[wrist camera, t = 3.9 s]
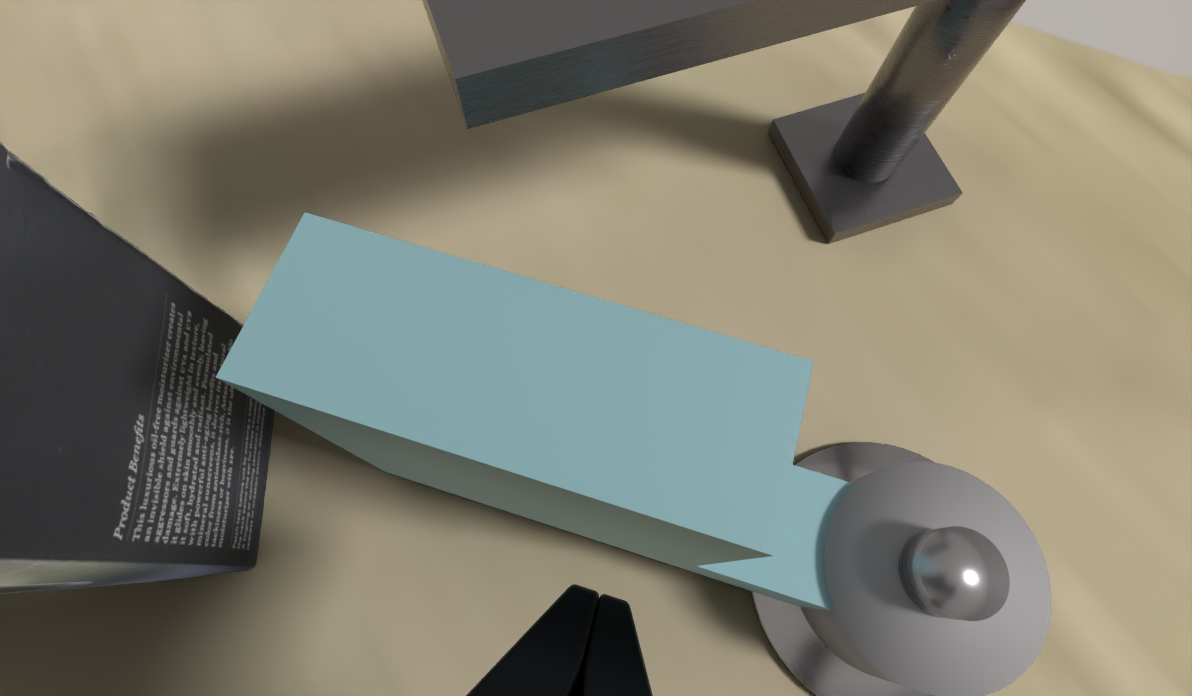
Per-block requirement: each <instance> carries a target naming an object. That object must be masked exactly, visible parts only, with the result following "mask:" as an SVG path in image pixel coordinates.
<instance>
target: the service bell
mask: <svg viewBox="0 0 1192 696" xmlns="http://www.w3.org/2000/svg"><path fill="white" fill-rule="evenodd" d="M907 462H930V463H935V462H933V461H931V460H929V459H927V458H925V457H923V456H922V455H920V454H917V453H914V452H912V451H909V450H906V449H904V448H900V447H896V446H892V445H888V444H880V443H872V442H861V443H848V444H841V445H837V446H833V447H830V448H826V449H823V450H821V451H819V452H817V453H814V454H812V455H810V456H808V457H806V458H805V459H803V460H802V461H800V462H798V463H797V464H795V466H798V467H802V468H805V469H808V470H811V471H815V472H818V473H821V474H824V475H828V476H831V477H834V478H837V479H841V480H844V481H847V482H848V481H851V480H854V479H856V478H859V477H862V476H865V475H867V474H870V473H873V472H875V471H878V470H881V469H883V468H886V467H889V466H893V465H896V464H901V463H907ZM899 574H900V579H901V582H902V585H903V587H904V589H905V591H906V593H907V594H908V596H909V597H910V599H911V600H912V601H913V602H914V603H915V604H916V605H917V606H918V607H919V608H921V609H922V610H923V611H925V612H927V613H928V614H930V615H933V616H935V617H939V618H945V619H955V620H965V621H980V620H985V619H988V618H990V617H992V616H993V615H995V614H996V613H997V612H998V611H999V610H1000V609H1001V608H1002V607H1003V605H1004V604H1005V602H1006V600H1007V597H1008V594H1009V588H1010V578H1009V572H1008V568H1007V565H1006V562H1005V560H1004V558H1003V556H1002V554H1001V553H1000V551H999V550H998V549H997V547H996V546H995V545H994V544H993V543H992V542H991V541H990V540H989V539H988V538H987V537H985V536H984V535H982V534H981V533H979V532H977V531H975V530H972V529H970V528H966V527H960V526H952V527H945V528H938V529H931V530H925V531H922V532H919V533H917V534H915V535H914V536H912V537H911V538H910V539H909V540H908V541H907V542H906V544H905V545H904V547H903V549H902V551H901V554H900V558H899ZM751 594H752V598H753V603H754V606H755V609H756V612H757V615H758V618H759V621H760V624H761V626H762V628H763V630H764V632H765V634H766V636H767V638H768V640H769V642H770V644H771V645H772V647H773V648H774V650H775V652H776V653H777V655H778V656H779V658H780V659H781V660H782V662H783V663H784V664H785V665H786V667H787V668H788V669H789V670H790V672H791V673H792V674H793V675H794V676H795V677H796V678H797V679H798V680H799V681H800V682H801V683H802V684H803V685H804V686H805V687H806V688H808V689H809V690H810V691H812V692H813V693H814V694H815V695H817V696H935V695H931V694H927V693H923V692H920V691H917V690H914V689H911V688H908V687H905V686H902V685H899V684H896V683H893V682H890V681H887V680H884V679H880V678H877V677H874V676H871V675H869V674H866V673H864V672H862V671H859V670H857V669H856V668H854V667H852V666H850V665H848V664H847V663H845V662H844V661H843V660H841V659H840V658H839V657H837V656H836V655H835V654H834V653H833V652H832V651H830V650H829V649H828V648H827V647H826V646H825V645H824V644H823V642H822V641H821V640H820V639H819V638H818V636H817V635H816V634H815V632H814V631H813V629H812V628H811V626H810V625H809V623H808V622H807V620H806V618H805V616H804V614H803V612H802V610H801V607H799V606H796V605H793V604H790V603H787V602H784V601H781V600H778V599H775V598H771V597H768V596H765V595H762V594H759V593H756V592H753V591H751Z"/></svg>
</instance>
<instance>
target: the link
mask: <svg viewBox="0 0 1192 696" xmlns="http://www.w3.org/2000/svg"><path fill="white" fill-rule="evenodd" d="M813 363H814V361H811V360H807V359H804V358H801V357H797V356H794V355H790V354H787V353H784V352H780V351H777V350H773V349H770V348H767V347H763V346H760V345H756V344H753V343H749V342H746V341H743V340H739V339H736V338H732V337H729V336H726V335H722V334H719V333H715V332H712V331H708V330H705V329H702V328H698V327H695V326H691V325H688V324H685V323H681V322H678V321H674V320H671V319H668V318H664V317H661V316H657V315H654V314H650V313H647V312H644V311H640V310H637V309H633V308H630V307H627V306H623V305H620V304H616V303H613V302H610V301H606V300H603V299H599V298H596V297H592V296H589V295H586V294H582V293H579V292H575V291H572V290H569V289H565V288H562V287H558V286H555V285H552V284H548V283H545V282H541V281H538V280H534V279H531V278H528V277H524V276H521V275H517V274H514V273H511V272H507V271H504V270H500V269H497V268H494V267H490V266H487V265H483V264H480V263H476V262H473V261H470V260H466V259H463V258H459V257H456V256H453V255H449V254H446V253H442V252H439V251H436V250H432V249H429V248H425V247H422V246H418V245H415V244H412V243H408V242H405V241H401V240H398V239H395V238H391V237H388V236H384V235H381V234H377V233H374V232H371V231H367V230H364V229H360V228H357V227H354V226H350V225H347V224H343V223H340V222H337V221H333V220H330V219H326V218H323V217H319V216H316V215H313V214H309V213H306V212H305V213H304V214H303V216H302V218H301V220H300V222H299V224H298V226H297V227H296V229H295V231H294V233H293V235H292V237H291V239H290V240H289V242H288V244H287V246H286V248H285V250H284V252H283V253H282V255H281V257H280V259H279V261H278V263H277V264H276V266H275V268H274V270H273V272H272V274H271V276H270V277H269V279H268V281H267V283H266V285H265V287H264V289H263V290H262V292H261V294H260V296H259V298H258V300H257V302H256V303H255V305H254V307H253V309H252V311H251V313H250V315H249V316H248V318H247V320H246V322H245V324H244V326H243V328H242V329H241V331H240V333H239V335H238V337H237V339H236V340H235V342H234V344H233V346H232V348H231V350H230V352H229V353H228V355H227V357H226V359H225V361H224V363H223V365H222V366H221V368H220V370H219V372H218V374H217V376H216V378H217V379H219V380H221V381H223V382H225V383H226V384H228V385H230V386H232V387H234V388H235V389H237V390H239V391H241V392H243V393H244V394H246V395H248V396H250V397H252V398H253V399H255V400H257V401H259V402H261V403H262V404H264V405H266V406H268V407H270V408H271V409H273V410H275V411H277V412H279V413H280V414H282V415H284V416H286V417H287V418H289V419H291V420H293V421H295V422H296V423H298V424H300V425H302V426H304V427H305V428H307V429H309V430H311V431H313V432H314V433H316V434H318V435H320V436H322V437H323V438H325V439H327V440H329V441H331V442H332V443H334V444H336V445H338V446H340V447H341V448H343V449H345V450H347V451H349V452H350V453H352V454H354V455H356V456H357V457H359V458H361V459H363V460H365V461H366V462H368V463H370V464H372V465H374V466H375V467H377V468H379V469H381V470H383V471H384V472H387V473H390V474H393V475H396V476H399V477H402V478H406V479H409V480H412V481H415V482H418V483H421V484H424V485H427V486H430V487H433V488H436V489H439V490H442V491H445V492H449V493H452V494H455V495H458V496H461V497H464V498H467V499H470V500H473V501H476V502H479V503H482V504H485V505H489V506H492V507H495V508H498V509H501V510H504V511H507V512H510V513H513V514H516V515H519V516H522V517H525V518H529V519H532V520H535V521H538V522H541V523H544V524H547V525H550V526H553V527H556V528H559V529H562V530H565V531H568V532H572V533H575V534H578V535H581V536H584V537H587V538H590V539H593V540H596V541H599V542H602V543H605V544H608V545H612V546H615V547H618V548H621V549H624V550H627V551H630V552H633V553H636V554H639V555H642V556H645V557H648V558H652V559H655V560H658V561H661V562H664V563H667V564H670V565H673V566H676V567H679V568H682V569H685V570H688V571H692V572H695V573H698V574H701V575H704V576H707V577H710V578H713V579H716V580H719V581H722V582H725V583H728V584H731V585H735V586H738V587H741V588H744V589H747V590H750V591H753V592H756V593H759V594H762V595H765V596H768V597H771V598H775V599H778V600H781V601H784V602H787V603H790V604H793V605H796V606H799V607H801V610H802V612H803V614H804V616H805V618H806V620H807V622H808V623H809V625H810V626H811V628H812V629H813V631H814V632H815V634H816V635H817V636H818V638H819V639H820V640H821V641H822V642H823V644H824V645H825V646H826V647H827V648H828V649H829V650H830V651H832V652H833V653H834V654H835V655H836V656H837V657H839V658H840V659H841V660H843V661H844V662H845V663H847V664H848V665H850V666H852V667H854V668H856V669H857V670H859V671H862V672H864V673H866V674H869V675H871V676H874V677H877V678H880V679H884V680H887V681H890V682H893V683H896V684H899V685H902V686H905V687H908V688H911V689H914V690H917V691H920V692H923V693H927V694H931V695H935V696H984V695H987V694H990V693H993V692H995V691H998V690H1000V689H1002V688H1004V687H1006V686H1007V685H1009V684H1011V683H1012V682H1013V681H1015V680H1016V679H1017V678H1018V677H1020V676H1021V675H1022V674H1023V673H1024V672H1025V671H1026V670H1027V669H1028V667H1029V666H1030V665H1031V664H1032V663H1033V661H1034V660H1035V658H1036V656H1037V655H1038V653H1039V652H1040V650H1041V647H1042V645H1043V643H1044V640H1045V638H1046V635H1047V631H1048V627H1049V623H1050V616H1051V587H1050V579H1049V574H1048V570H1047V566H1046V562H1045V560H1044V557H1043V554H1042V552H1041V549H1040V547H1039V545H1038V543H1037V541H1036V539H1035V537H1034V535H1033V533H1032V531H1031V530H1030V528H1029V527H1028V525H1027V523H1026V522H1025V520H1024V519H1023V518H1022V517H1021V515H1020V514H1019V513H1018V512H1017V510H1016V509H1015V508H1014V507H1013V506H1012V505H1011V504H1010V503H1009V502H1008V501H1007V500H1006V499H1005V498H1004V497H1003V496H1002V495H1001V494H1000V493H998V492H997V491H996V490H995V489H994V488H992V487H991V486H990V485H988V484H986V483H985V482H983V481H982V480H980V479H979V478H977V477H975V476H973V475H971V474H969V473H967V472H965V471H962V470H959V469H957V468H954V467H951V466H947V465H943V464H939V463H930V462H907V463H901V464H896V465H893V466H889V467H886V468H883V469H881V470H878V471H875V472H873V473H870V474H867V475H865V476H862V477H859V478H856V479H854V480H851V481H848V482H847V481H844V480H841V479H837V478H834V477H831V476H828V475H824V474H821V473H818V472H815V471H811V470H808V469H805V468H802V467H798V466H795V465H793V460H794V455H795V450H796V446H797V441H798V436H799V431H800V426H801V421H802V416H803V411H804V407H805V402H806V397H807V392H808V387H809V382H810V377H811V372H812V368H813ZM952 526H960V527H966V528H970V529H972V530H975V531H977V532H979V533H981V534H982V535H984V536H985V537H987V538H988V539H989V540H990V541H991V542H992V543H993V544H994V545H995V546H996V547H997V549H998V550H999V551H1000V553H1001V554H1002V556H1003V558H1004V560H1005V562H1006V565H1007V568H1008V572H1009V578H1010V588H1009V594H1008V597H1007V600H1006V602H1005V604H1004V605H1003V607H1002V608H1001V609H1000V610H999V611H998V612H997V613H996V614H995V615H993V616H992V617H990V618H988V619H985V620H980V621H965V620H955V619H945V618H939V617H935V616H933V615H930V614H928V613H927V612H925V611H923V610H922V609H921V608H919V607H918V606H917V605H916V604H915V603H914V602H913V601H912V600H911V599H910V597H909V596H908V594H907V593H906V591H905V589H904V587H903V585H902V582H901V579H900V574H899V558H900V554H901V551H902V549H903V547H904V545H905V544H906V542H907V541H908V540H909V539H910V538H911V537H912V536H914V535H915V534H917V533H919V532H922V531H925V530H931V529H938V528H945V527H952Z"/></svg>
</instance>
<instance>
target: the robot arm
mask: <svg viewBox="0 0 1192 696" xmlns="http://www.w3.org/2000/svg"><path fill="white" fill-rule="evenodd" d="M466 696H653V695H652V691H651V687H650V683H649V679H648V676H647V672H646V668H645V664H644V660H643V656H642V652H641V648H640V644H639V640H638V636H637V632H636V628H635V624H634V620H633V616H632V612H631V609H630V606H629V604H628V603H627V602H626V601H624V600H621V599H618V598H615V597H612V596H609V595H606V594H603V595H601V596H600V598H599V594H598V593H597V592H596V591H594V590H591V589H588V588H585V587H582V586H579V585H571V586H570V587H569V588H568V589H567V590H566V591H565V592H564V593H563V594H562V595H561V596H560V597H559V598H558V599H557V600H556V601H555V602H554V603H553V605H552V606H551V607H550V608H549V609H548V610H547V611H546V612H545V613H544V614H543V615H542V616H541V617H540V618H539V619H538V620H537V621H536V622H535V624H534V625H533V626H532V627H531V628H530V629H529V630H528V631H527V632H526V633H525V634H524V635H523V636H522V637H521V638H520V639H519V640H518V641H517V643H516V644H515V645H514V646H513V647H512V648H511V649H510V650H509V651H508V652H507V653H506V654H505V655H504V656H503V657H502V658H501V659H500V660H499V662H498V663H497V664H496V665H495V666H494V667H493V668H492V669H491V670H490V671H489V672H488V673H487V674H486V675H485V676H484V677H483V678H482V679H481V681H480V682H479V683H478V684H477V685H476V686H475V687H474V688H473V689H472V690H471V691H470V692H469V693H468V694H467V695H466Z"/></svg>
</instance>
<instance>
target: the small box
mask: <svg viewBox="0 0 1192 696" xmlns="http://www.w3.org/2000/svg"><path fill="white" fill-rule="evenodd" d="M243 326H244V325H242V324H240V323H239V322H238V321H236V320H235V319H234V318H233V317H231V316H230V315H228V314H227V313H226V312H225V311H224V310H222V309H220V308H219V307H217V306H215V305H214V304H212V303H211V302H210V301H208V300H207V298H205V297H204V296H202V295H201V294H200V293H198V292H197V291H195V290H194V289H193V288H192V287H190V286H188V285H187V284H186V283H184V282H183V281H182V280H180V279H179V278H178V277H176V276H175V275H174V274H172V273H171V272H169V271H168V270H167V269H165V268H164V267H163V266H161V265H159V264H158V263H157V262H156V261H154V260H153V259H152V258H150V257H149V256H148V255H146V254H145V253H144V252H143V251H141V250H140V249H139V248H138V247H137V246H135V245H133V244H131V243H130V242H128V241H127V240H125V239H124V238H122V237H121V236H120V235H119V234H118V233H116V232H115V231H113V230H112V229H110V228H108V227H106V226H104V225H102V224H101V222H100V221H99V220H98V219H97V218H96V217H95V216H94V215H93V214H92V213H89V212H86V211H85V210H84V209H83V208H82V207H80V206H79V205H78V204H77V203H75V202H74V201H73V200H71V199H70V198H69V197H67V196H66V195H65V194H64V193H62V192H61V191H59V190H58V189H57V188H55V187H54V186H52V185H51V184H50V183H49V182H48V180H47V179H45V178H44V177H43V176H41V175H40V174H39V173H37V172H36V171H35V170H34V169H32V168H31V167H30V166H29V165H27V164H26V163H25V162H23V161H22V160H21V159H19V158H18V157H17V156H15V155H14V154H12V153H11V152H10V151H8V150H7V149H6V148H5V147H4V145H3V144H2V143H1V142H0V594H7V593H20V592H33V591H46V590H59V589H72V588H85V587H97V586H109V585H120V584H132V583H144V582H153V581H163V580H172V579H182V578H192V577H199V576H207V575H214V574H221V573H228V572H238V571H246V570H249V569H251V568H253V567H254V566H255V564H256V559H257V553H258V546H259V539H260V529H261V523H262V515H263V506H264V494H265V489H266V480H267V471H268V463H269V455H270V445H271V434H272V426H273V416H274V410H273V409H271V408H270V407H268V406H266V405H264V404H262V403H261V402H259V401H257V400H255V399H253V398H252V397H250V396H248V395H246V394H244V393H243V392H241V391H239V390H237V389H235V388H234V387H232V386H230V385H228V384H226V383H225V382H223V381H221V380H219V379H217V378H216V376H217V374H218V372H219V370H220V368H221V366H222V365H223V363H224V361H225V359H226V357H227V355H228V353H229V352H230V350H231V348H232V346H233V344H234V342H235V340H236V339H237V337H238V335H239V333H240V331H241V329H242V328H243Z"/></svg>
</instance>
